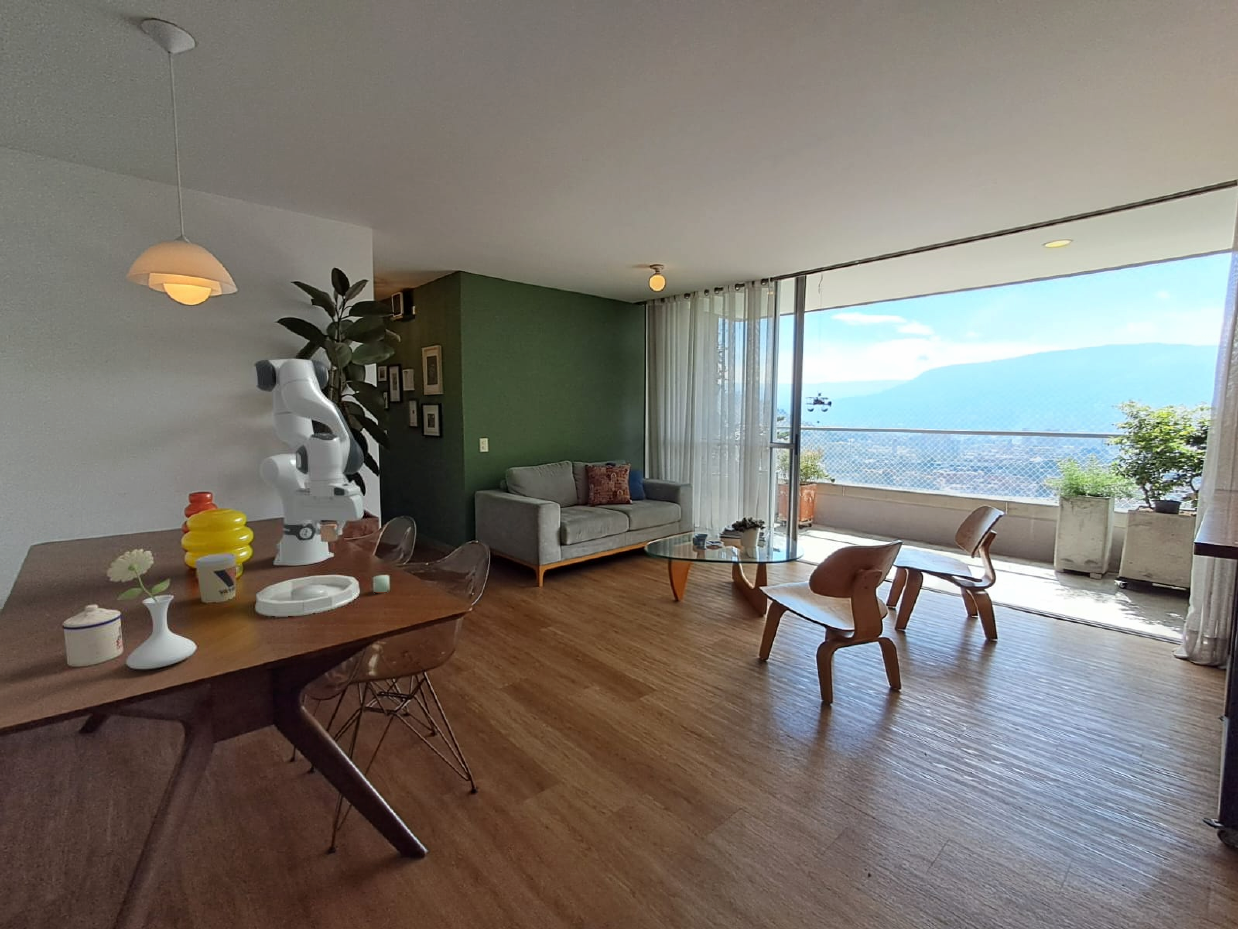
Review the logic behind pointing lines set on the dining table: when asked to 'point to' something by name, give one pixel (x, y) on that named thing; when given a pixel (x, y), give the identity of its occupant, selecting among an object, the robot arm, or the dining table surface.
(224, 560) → the coffee cup
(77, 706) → the dining table surface
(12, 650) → the dining table surface
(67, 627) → the teacup with lid
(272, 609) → the groove tray
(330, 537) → the terracotta bead
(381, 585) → the sage bead
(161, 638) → the flower in vase
